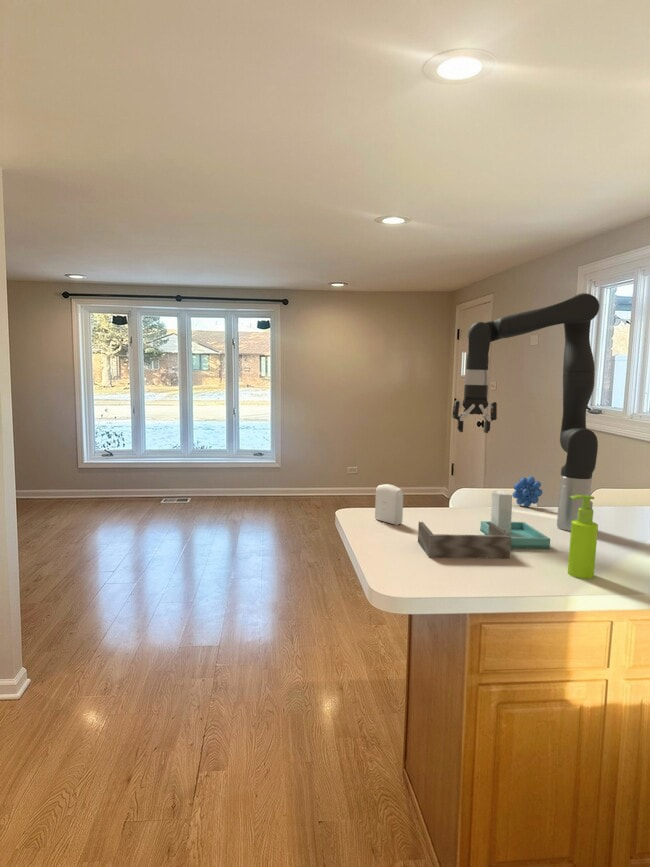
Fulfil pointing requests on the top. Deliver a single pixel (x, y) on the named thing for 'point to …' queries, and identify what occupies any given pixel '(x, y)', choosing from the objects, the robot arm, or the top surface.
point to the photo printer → (389, 504)
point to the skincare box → (501, 510)
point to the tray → (522, 536)
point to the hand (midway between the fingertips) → (473, 432)
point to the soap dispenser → (583, 541)
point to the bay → (465, 544)
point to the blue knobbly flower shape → (527, 491)
